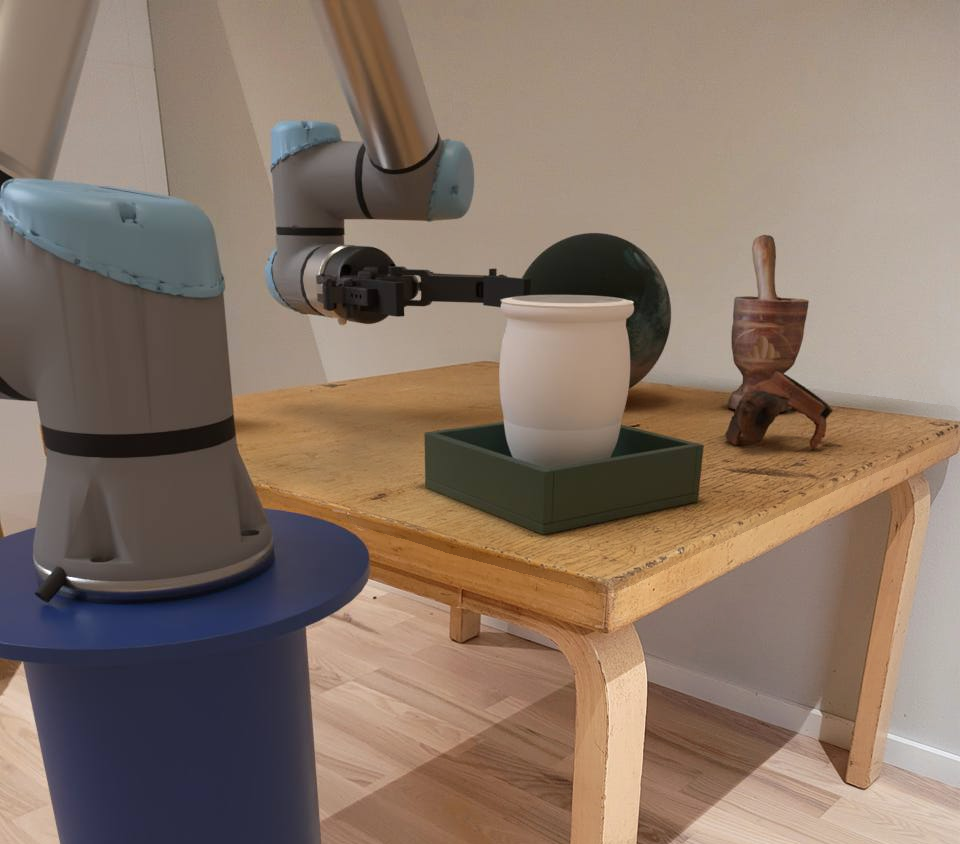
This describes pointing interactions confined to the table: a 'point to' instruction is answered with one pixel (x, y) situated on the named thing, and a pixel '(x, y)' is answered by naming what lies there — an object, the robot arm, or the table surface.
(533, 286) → the decorative sphere
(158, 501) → the robot arm
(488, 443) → the bin
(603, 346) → the jar
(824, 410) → the brown arched piece
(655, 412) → the table surface
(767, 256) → the mortar and pestle
